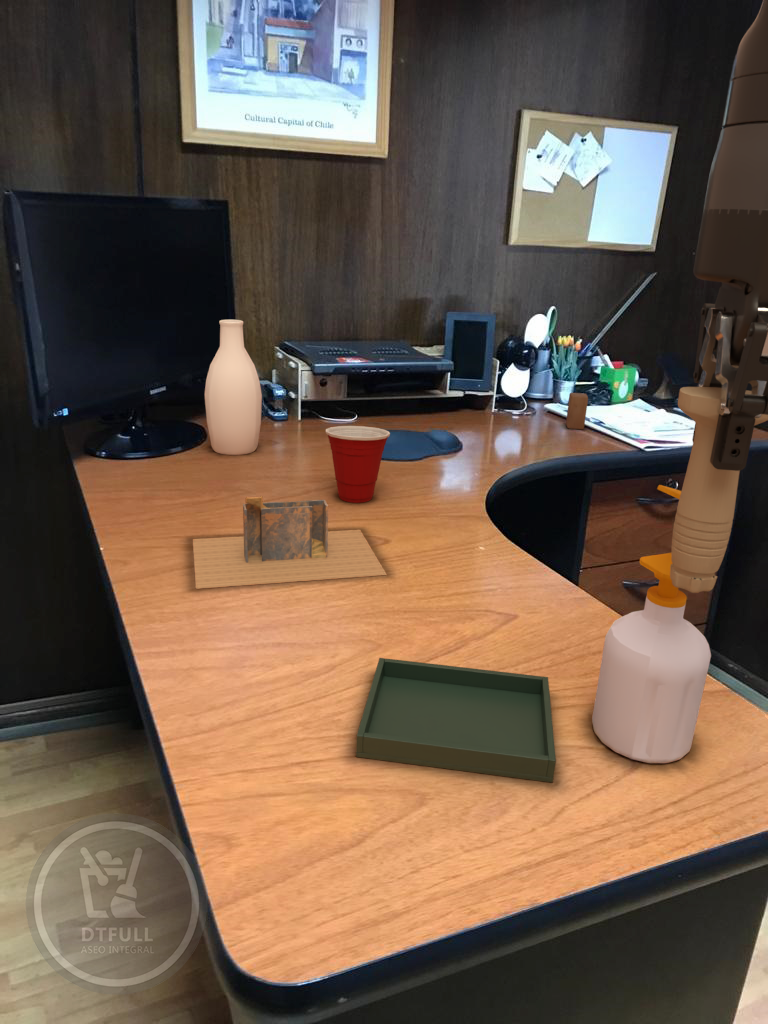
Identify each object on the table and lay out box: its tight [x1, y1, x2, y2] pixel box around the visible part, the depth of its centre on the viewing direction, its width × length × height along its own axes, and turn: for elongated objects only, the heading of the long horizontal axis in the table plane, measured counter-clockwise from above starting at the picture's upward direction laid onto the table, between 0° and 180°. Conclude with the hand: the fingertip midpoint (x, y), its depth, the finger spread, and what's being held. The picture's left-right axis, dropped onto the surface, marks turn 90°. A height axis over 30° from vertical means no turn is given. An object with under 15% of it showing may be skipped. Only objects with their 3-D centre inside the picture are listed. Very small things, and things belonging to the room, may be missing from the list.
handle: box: [670, 386, 768, 594], centre depth 57 cm, size 5×6×15 cm
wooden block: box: [565, 392, 589, 430], centre depth 185 cm, size 4×4×8 cm
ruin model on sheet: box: [192, 495, 388, 590], centre depth 106 cm, size 25×16×10 cm, turn 104°
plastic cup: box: [325, 425, 391, 504], centre depth 131 cm, size 11×11×12 cm
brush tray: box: [355, 657, 557, 783], centre depth 73 cm, size 17×13×2 cm
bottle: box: [204, 319, 263, 456], centre depth 152 cm, size 11×11×25 cm
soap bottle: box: [591, 484, 712, 764], centre depth 69 cm, size 9×9×25 cm
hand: (716, 456), depth 56 cm, fingers closed on handle, 5 cm apart
